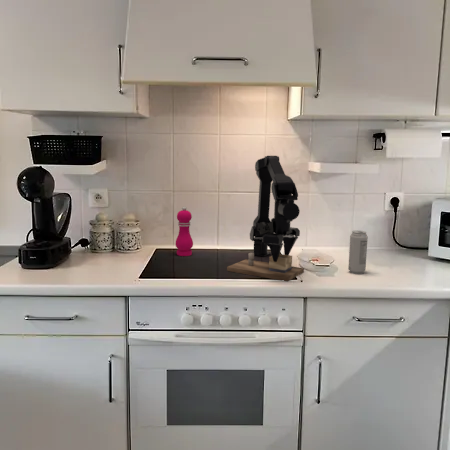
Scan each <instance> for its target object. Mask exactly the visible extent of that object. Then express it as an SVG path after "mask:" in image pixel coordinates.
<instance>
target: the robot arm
mask: <svg viewBox="0 0 450 450" xmlns="http://www.w3.org/2000/svg"><path fill="white" fill-rule="evenodd" d="M254 169H255V174H256V176H257V178H258V180H259V185H258V186H259V189H258V205H257V207H258V208H257V215H256V217H255V218H254V220H253V222H252V226H251V229H250V232H249V239H250V240H251V241H252V242H253V252H252V253H254V256H257V257H266V256H269V255H271V256H272V257H273V261H274V262H277V260H278V257H279V254H281V251H282V248H283V253H284V254H283V255H290V253H291V251H292V249H293V247H294V245H295V243H296V241H297V240H298V239H299V237H300V234H301V232H300V229H299V228H298V227H292V226H291V222H293V221H294V220H296V219H297V218H298V217H299V215H300V207H299V206H298V205H297V204H296V203H295V201H298V197H299V192H298V190H297V187H296V183H295V181H294V180H293V179H292V177H291V176H289V175H287V174H285V171H284V169H283V166H282V164H281V162H280V156H279V155H266V156H264V157H262V158H260V159H257V160H256V161H255V164H254ZM271 193H272V196H273V200H274V205H273V206H274V210H273V212H274V213H273V218H271V219H270V218H269V217H270V203H271ZM268 247H269V251H270V252H269V251H268Z"/></svg>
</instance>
